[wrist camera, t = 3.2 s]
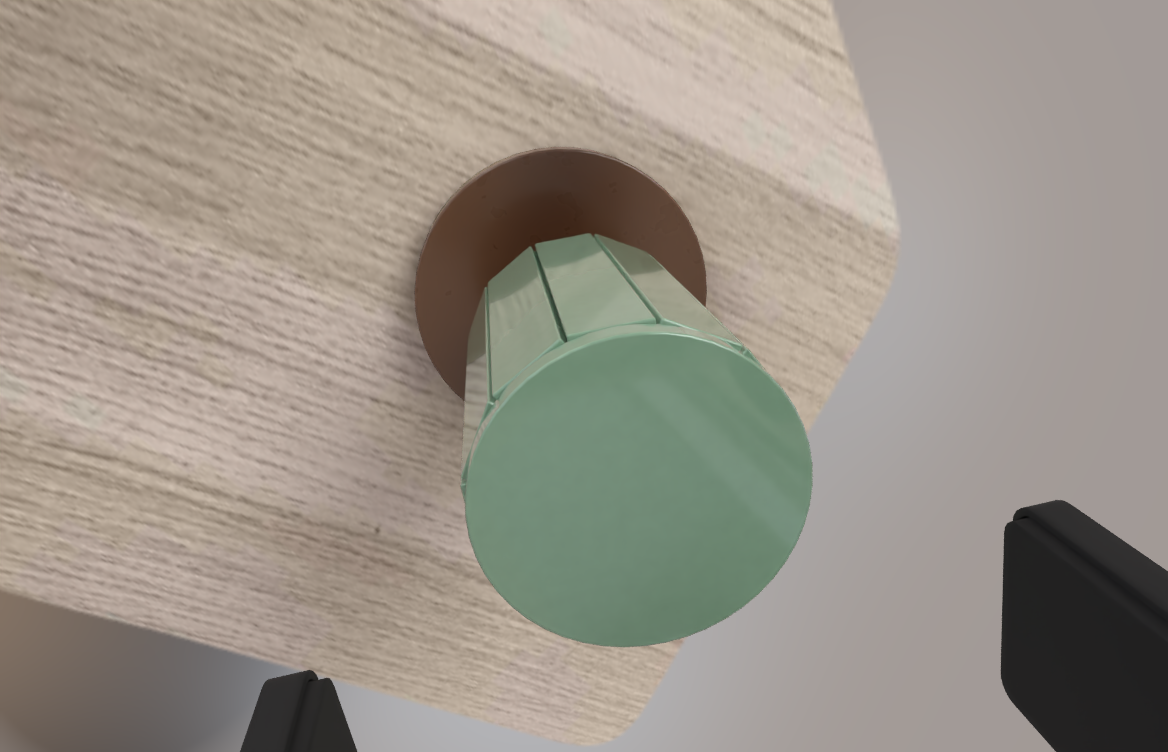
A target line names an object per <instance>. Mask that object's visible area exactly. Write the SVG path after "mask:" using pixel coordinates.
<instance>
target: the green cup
mask: <svg viewBox="0 0 1168 752" xmlns="http://www.w3.org/2000/svg"><path fill="white" fill-rule="evenodd" d="M461 490H462V494H463V498H464V502H465V517H466V523H467V528H468V534H469V539H470V542H471V545H472V547H473V550H474V553H475V556H476V558H477V560H478V562H479V564H480V566H481V568H482V570H483V572H484V574H485V575H486V577H487V578H488V580H489V581H490V582H491V584H492V585H493V587H494V588H495V589H496V591H497V592H498V593H499V594H500V595H501V596H502V597H503V598H504V599H505V600H506V601H507V602H508V603H509V604H510V605H511V606H512V607H513V608H514V609H515V610H517V611H518V612H519V613H521V614H522V615H523V616H524V617H526V618H527V619H529V620H530V621H532V622H534V623H535V624H537V625H539V626H540V627H542V628H544V629H546V630H548V631H550V632H553V633H555V634H557V635H560V636H562V637H565V638H568V639H572V640H575V641H579V642H582V643H588V644H593V645H599V646H610V647H637V646H648V645H654V644H660V643H666V642H670V641H673V640H677V639H681V638H684V637H687V636H690V635H692V634H695V633H697V632H700V631H702V630H705V629H707V628H709V627H711V626H713V625H715V624H717V623H719V622H720V621H722V620H724V619H726V618H728V617H729V616H730V615H732V614H733V613H735V612H736V611H738V610H739V609H741V608H742V607H744V606H745V605H746V604H747V603H748V602H750V601H751V600H752V599H753V598H754V597H756V595H758V594H759V593H760V592H761V591H762V590H763V588H765V587H766V585H767V584H769V582H770V581H771V580H772V579H773V578H774V577H775V575H776V574H777V573H778V571H779V570H780V569H781V568H782V566H783V565H784V564H785V562H786V561H787V559H788V557H789V555H790V554H791V552H792V550H793V548H794V547H795V545H796V543H797V541H798V538H799V536H800V534H801V531H802V529H803V527H804V524H805V520H806V517H807V513H808V509H809V506H810V499H811V492H812V459H811V452H810V445H809V442H808V438H807V435H806V432H805V428H804V425H803V423H802V421H801V419H800V417H799V415H798V413H797V410H796V408H795V406H794V405H793V403H792V402H791V400H790V399H789V397H788V396H787V395H786V393H785V392H784V390H783V389H782V388H781V387H780V386H779V385H778V383H777V382H776V381H775V380H774V379H773V378H772V377H771V376H770V375H769V374H768V373H767V372H766V370H765V369H764V368H763V367H762V365H761V364H760V363H759V361H758V360H757V359H756V358H755V356H754V355H753V354H752V353H751V351H750V350H749V349H748V348H747V347H746V346H745V345H744V344H743V343H742V342H741V341H740V340H739V339H738V338H737V337H736V336H735V335H733V334H732V333H731V332H730V331H729V330H728V329H727V328H726V327H725V326H724V325H723V324H722V323H721V322H720V321H719V320H718V319H717V318H716V317H715V316H714V315H713V314H712V313H711V312H710V311H709V310H708V309H707V308H706V307H705V306H704V305H702V304H701V303H700V302H699V301H698V300H697V299H696V298H695V297H694V296H693V295H692V294H691V293H690V292H689V291H688V290H687V289H686V288H685V287H684V286H683V285H682V284H681V283H680V282H679V281H678V280H677V279H676V278H675V277H674V276H673V275H671V274H670V273H669V272H668V271H667V270H666V269H665V268H664V267H663V266H662V265H661V264H660V263H659V262H658V261H657V260H656V259H655V258H654V257H653V256H652V255H649V254H648V253H647V252H646V251H644V250H641V249H638V248H635V247H632V246H630V245H627V244H624V243H621V242H618V241H616V240H613V239H610V238H607V237H604V236H601V235H599V234H595V235H594V237H593V236H592V235H591V233H588V234H582V235H577V236H572V237H567V238H562V239H556V240H551V241H546V242H541V243H536V244H535V250H534V249H533V248H532V247H531V246H530V247H528V248H527V249H526V250H525V251H524V252H522V253H521V254H520V255H519V256H518V257H517V258H516V259H514V260H513V261H512V262H511V263H510V264H509V265H507V266H506V267H505V268H504V269H503V270H502V271H500V272H499V273H498V274H497V275H496V276H495V277H494V278H492V279H491V280H490V281H489V282H488V287H485V288H484V291H483V294H482V297H481V300H480V303H479V306H478V308H477V311H476V314H475V317H474V320H473V323H472V326H471V329H470V332H469V335H468V346H467V366H466V386H465V406H464V426H463V446H462V466H461Z"/></svg>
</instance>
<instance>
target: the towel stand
mask: <svg viewBox="0 0 1168 752" xmlns="http://www.w3.org/2000/svg"><path fill="white" fill-rule="evenodd" d="M588 233H591V235H592V236H593V237H594V235H595V234H599V235H601V236H604V237H607V238H610V239H613V240H616V241H618V242H621V243H624V244H627V245H630V246H632V247H635V248H638V249H641V250H644V251H646V252H647V253H648V254H649V255H652V256H653V257H654V258H655V259H656V260H657V261H658V262H659V263H660V264H661V265H662V266H663V267H664V268H665V269H666V270H667V271H668V272H669V273H670V274H671V275H673V276H674V277H675V278H676V279H677V280H678V281H679V282H680V283H681V284H682V285H683V286H684V287H685V288H686V289H687V290H688V291H689V292H690V293H691V294H692V295H693V296H694V297H695V298H696V299H697V300H698V301H699V302H700V303H701V304H702V305H704V306H706V294H707V286H706V271H705V266H704V260H703V255H702V252H701V249H700V245H699V242H698V239H697V236H696V234H695V232H694V230H693V228H692V226H691V224H690V222H689V220H688V218H687V217H686V215H685V214H684V212H683V211H682V209H681V208H680V206H679V205H678V204H677V202H676V201H675V200H674V199H673V198H672V197H671V196H670V195H669V193H668V192H667V191H666V190H665V189H664V188H663V187H661V186H660V185H659V184H658V183H657V182H656V181H654V180H653V179H652V178H651V177H649V176H648V175H646V174H645V173H643V172H642V171H640V170H639V169H637V168H635V167H634V166H632V165H630V164H628V163H626V162H623V161H621V160H619V159H617V158H615V157H613V156H610V155H606V154H603V153H600V152H597V151H593V150H587V149H581V148H575V147H550V148H541V149H534V150H530V151H526V152H522V153H518V154H515V155H512V156H510V157H507V158H505V159H502V160H500V161H497V162H496V163H494V164H492V165H490V166H489V167H487V168H485V169H483V170H482V171H480V172H479V173H477V174H476V175H475V176H473V177H472V178H471V179H470V180H468V181H467V182H466V183H464V184H463V185H462V186H461V187H460V189H459V190H458V191H457V192H456V193H455V194H454V195H453V196H452V197H451V198H450V199H449V200H448V202H447V203H446V204H445V206H444V207H443V208H442V210H441V211H440V212H439V214H438V216H437V218H436V220H435V221H434V223H433V225H432V227H431V229H430V231H429V233H428V236H427V238H426V241H425V244H424V246H423V249H422V252H421V255H420V259H419V263H418V268H417V272H416V282H415V311H416V316H417V322H418V327H419V331H420V334H421V337H422V340H423V343H424V346H425V349H426V351H427V353H428V355H429V357H430V359H431V361H432V363H433V365H434V366H435V368H436V369H437V371H438V372H439V374H440V375H441V377H442V378H443V380H444V381H445V382H446V383H447V384H448V385H449V386H450V388H451V389H452V390H453V391H454V392H455V393H456V394H457V395H458V396H459V397H460V398H461V399H463V400H464V401H465V386H466V366H467V346H468V335H469V332H470V329H471V326H472V323H473V320H474V317H475V314H476V311H477V308H478V306H479V303H480V300H481V297H482V294H483V291H484V288H485V287H488V282H489V281H490V280H491V279H492V278H494V277H495V276H496V275H497V274H498V273H499V272H500V271H502V270H503V269H504V268H505V267H506V266H507V265H509V264H510V263H511V262H512V261H513V260H514V259H516V258H517V257H518V256H519V255H520V254H521V253H522V252H524V251H525V250H526V249H527V248H528V247H530V246H531V247H532V248H533V249H534V250H535V244H536V243H541V242H546V241H551V240H556V239H562V238H567V237H572V236H577V235H582V234H588Z"/></svg>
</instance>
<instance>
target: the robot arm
mask: <svg viewBox="0 0 1168 752" xmlns="http://www.w3.org/2000/svg"><path fill="white" fill-rule="evenodd" d="M1002 604H1003V605H1002V643H1001V645H1002V647H1001V679H1002V683H1003V686H1004V689H1005V691H1006V693H1007V695H1008V697H1009V698H1010V700H1011V701H1012V702H1013V703H1014V705H1015V706H1016V707H1017V708H1018V709H1019V710H1020V712H1022V714H1023V715H1024V716H1025V717H1026V718H1027V719H1028V721H1029V722H1030V723H1031V724H1032V725H1033V726H1034V727H1035V729H1036V730H1037V731H1038V732H1039V733H1040V734H1041V735H1042V736H1043V738H1044V739H1045V740H1046V741H1047V742H1048V743H1049V744H1050V745H1051V747H1052V748H1053V749H1054V750H1055V751H1056V752H1168V571H1166V570H1165V569H1164V568H1162V567H1161V566H1159V565H1158V564H1156V563H1155V562H1153V561H1152V560H1150V559H1149V558H1148V557H1146V556H1145V555H1143V554H1142V553H1140V552H1139V551H1137V550H1136V549H1135V548H1133V547H1132V546H1130V545H1129V544H1127V543H1126V542H1124V541H1123V540H1122V539H1120V538H1118V537H1117V536H1116V535H1114V534H1113V533H1111V532H1110V531H1109V530H1107V529H1106V528H1104V527H1103V526H1101V525H1100V524H1098V523H1097V522H1095V521H1094V520H1093V519H1091V518H1090V517H1088V516H1087V515H1085V514H1084V513H1082V512H1081V511H1080V510H1078V509H1077V508H1075V507H1074V506H1072V505H1071V504H1069V503H1067V502H1065V501H1062V500H1055V501H1051V502H1047V503H1042V504H1038V505H1033V506H1029V507H1024V508H1021V509H1019V510H1017V511H1016V513H1015V514H1014V517H1013V521H1012V522H1009V523H1007V525H1006V527H1005V531H1004V563H1003V603H1002ZM240 752H357V749H356V747H355V744H354V741H353V738H352V735H351V733H350V730H349V727H348V724H347V721H346V718H345V715H344V713H343V710H342V707H341V704H340V702H339V699H338V696H337V693H336V690H335V687H334V685H333V683H332V681H331V680H330V678H324V679H320V680H318V677H317V675H316V674H315V673H314V672H313V671H311V670H308V671H303V672H299V673H294V674H290V675H286V676H281V677H277V678H272V679H269V680H267V681H266V682H265V683H264V685H263V687H262V690H261V693H260V696H259V698H258V701H257V704H256V707H255V710H254V713H253V716H252V719H251V722H250V724H249V727H248V731H247V733H246V736H245V739H244V742H243V745H242V748H241V751H240Z"/></svg>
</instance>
